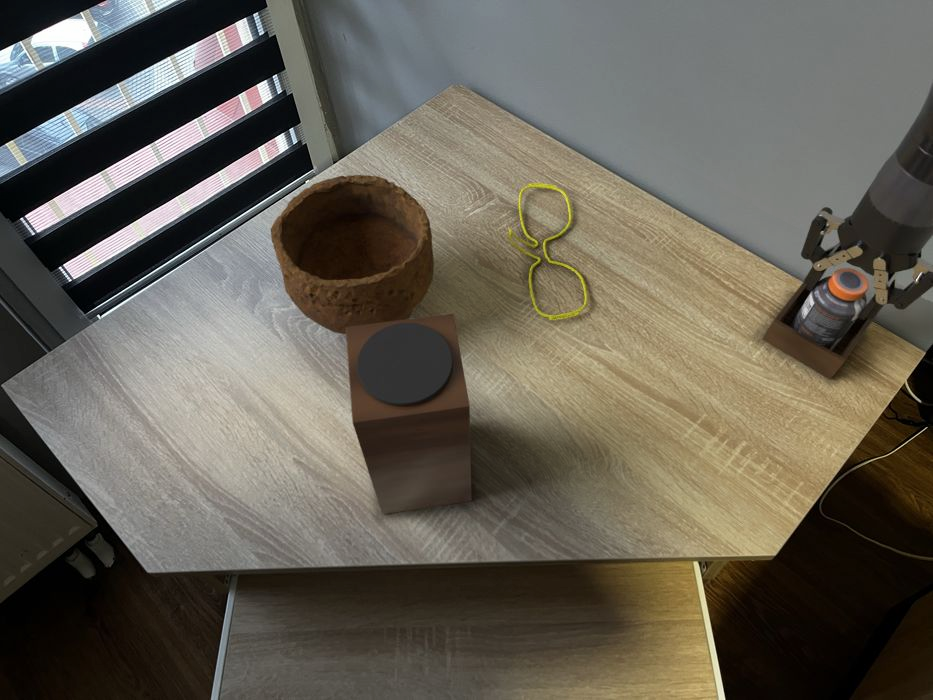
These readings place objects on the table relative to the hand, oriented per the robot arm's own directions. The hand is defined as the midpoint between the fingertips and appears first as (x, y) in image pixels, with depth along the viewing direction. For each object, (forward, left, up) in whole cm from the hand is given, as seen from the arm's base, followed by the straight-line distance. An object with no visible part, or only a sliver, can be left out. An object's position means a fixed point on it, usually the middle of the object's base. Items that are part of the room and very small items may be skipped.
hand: (837, 300), depth 83 cm
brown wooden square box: (0, 0, -8) cm, 8 cm away
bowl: (+14, +56, -8) cm, 58 cm away
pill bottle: (0, 0, -8) cm, 8 cm away
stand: (-10, +51, -8) cm, 53 cm away
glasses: (+19, +31, -8) cm, 37 cm away
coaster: (-10, +51, +14) cm, 54 cm away
